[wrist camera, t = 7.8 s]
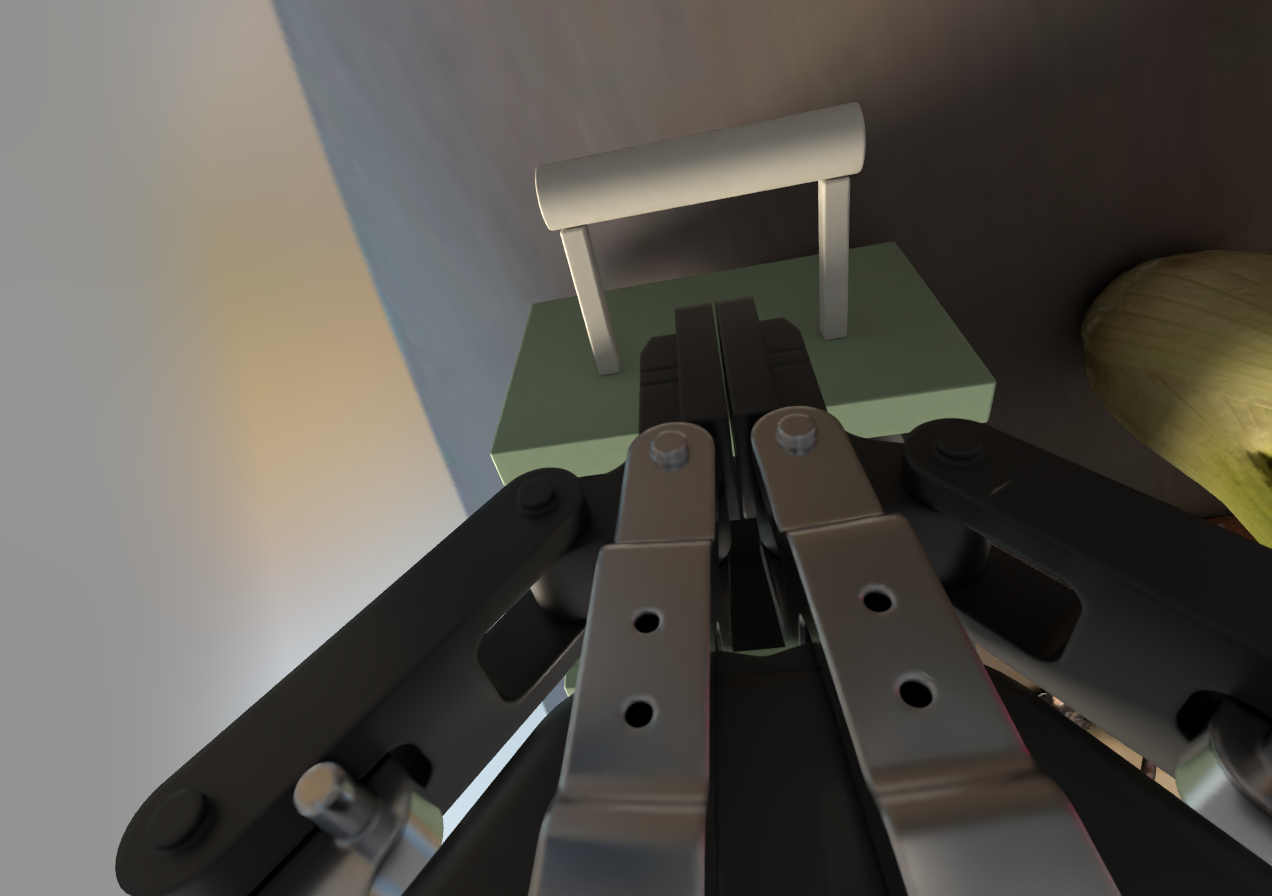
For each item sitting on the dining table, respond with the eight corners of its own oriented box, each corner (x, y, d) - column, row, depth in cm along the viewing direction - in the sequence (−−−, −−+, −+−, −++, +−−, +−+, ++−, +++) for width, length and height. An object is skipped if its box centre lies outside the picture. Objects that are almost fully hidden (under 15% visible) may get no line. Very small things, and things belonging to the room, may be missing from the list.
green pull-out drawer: (475, 130, 18) (392, 241, 12) (908, 38, 17) (1052, 113, 11) (620, 571, 31) (613, 730, 25) (874, 542, 29) (932, 704, 23)
